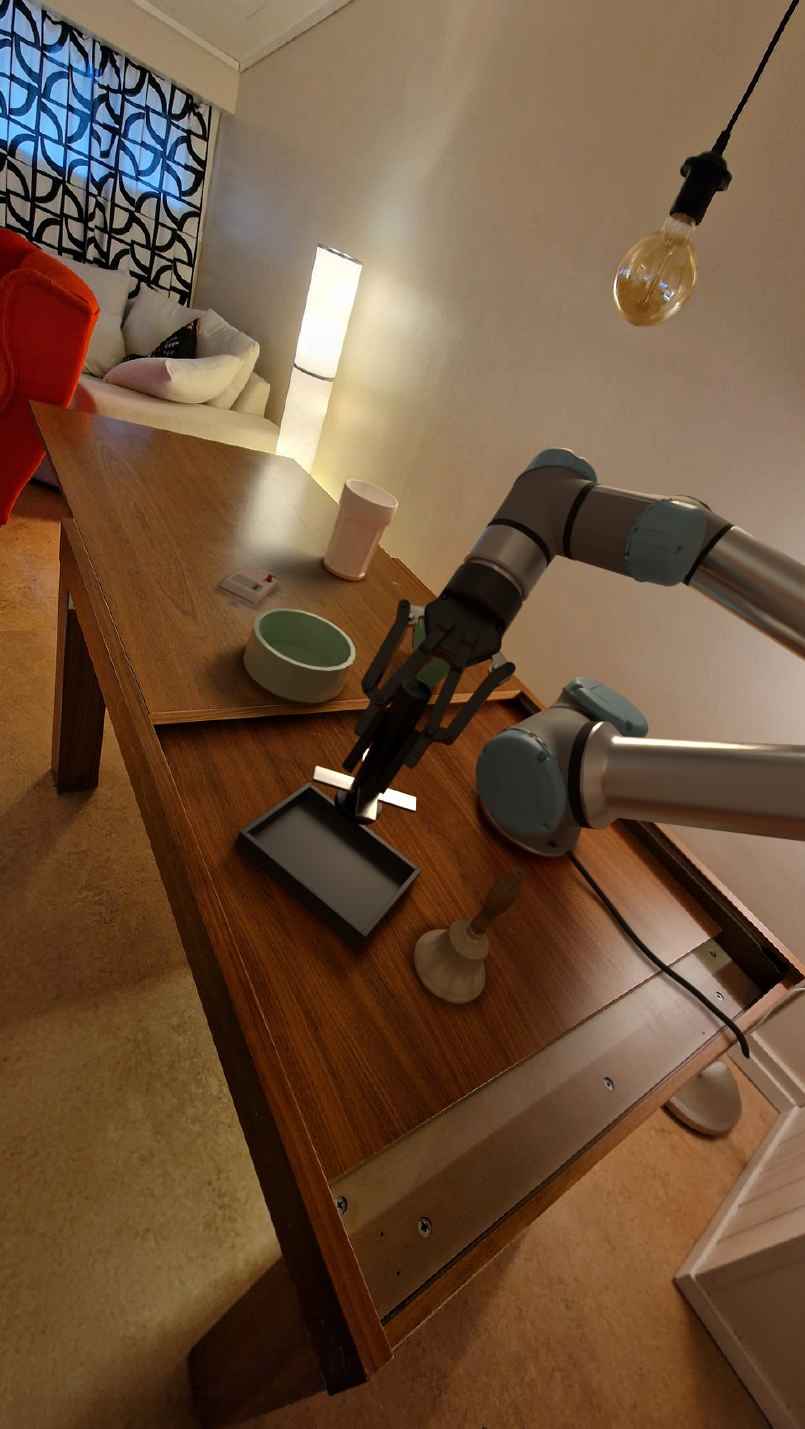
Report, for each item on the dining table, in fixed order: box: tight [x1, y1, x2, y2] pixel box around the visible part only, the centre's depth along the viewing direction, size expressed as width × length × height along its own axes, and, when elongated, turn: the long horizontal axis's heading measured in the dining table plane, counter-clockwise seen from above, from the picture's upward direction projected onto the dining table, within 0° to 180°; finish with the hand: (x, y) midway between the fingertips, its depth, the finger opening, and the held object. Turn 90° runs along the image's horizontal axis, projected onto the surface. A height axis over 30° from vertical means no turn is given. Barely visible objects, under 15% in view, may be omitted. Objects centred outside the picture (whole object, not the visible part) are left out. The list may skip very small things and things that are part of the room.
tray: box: [233, 781, 422, 952], centre depth 69 cm, size 17×12×3 cm
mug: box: [411, 619, 451, 688], centre depth 110 cm, size 15×10×10 cm
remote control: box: [219, 564, 280, 605], centre depth 111 cm, size 7×16×3 cm, turn 166°
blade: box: [311, 678, 433, 826], centre depth 60 cm, size 11×10×16 cm
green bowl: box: [242, 607, 356, 704], centre depth 94 cm, size 16×16×7 cm
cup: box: [322, 478, 399, 582], centre depth 128 cm, size 11×11×17 cm
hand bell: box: [413, 867, 526, 1005], centre depth 62 cm, size 8×8×16 cm
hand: (363, 779), depth 58 cm, fingers closed on blade, 3 cm apart
